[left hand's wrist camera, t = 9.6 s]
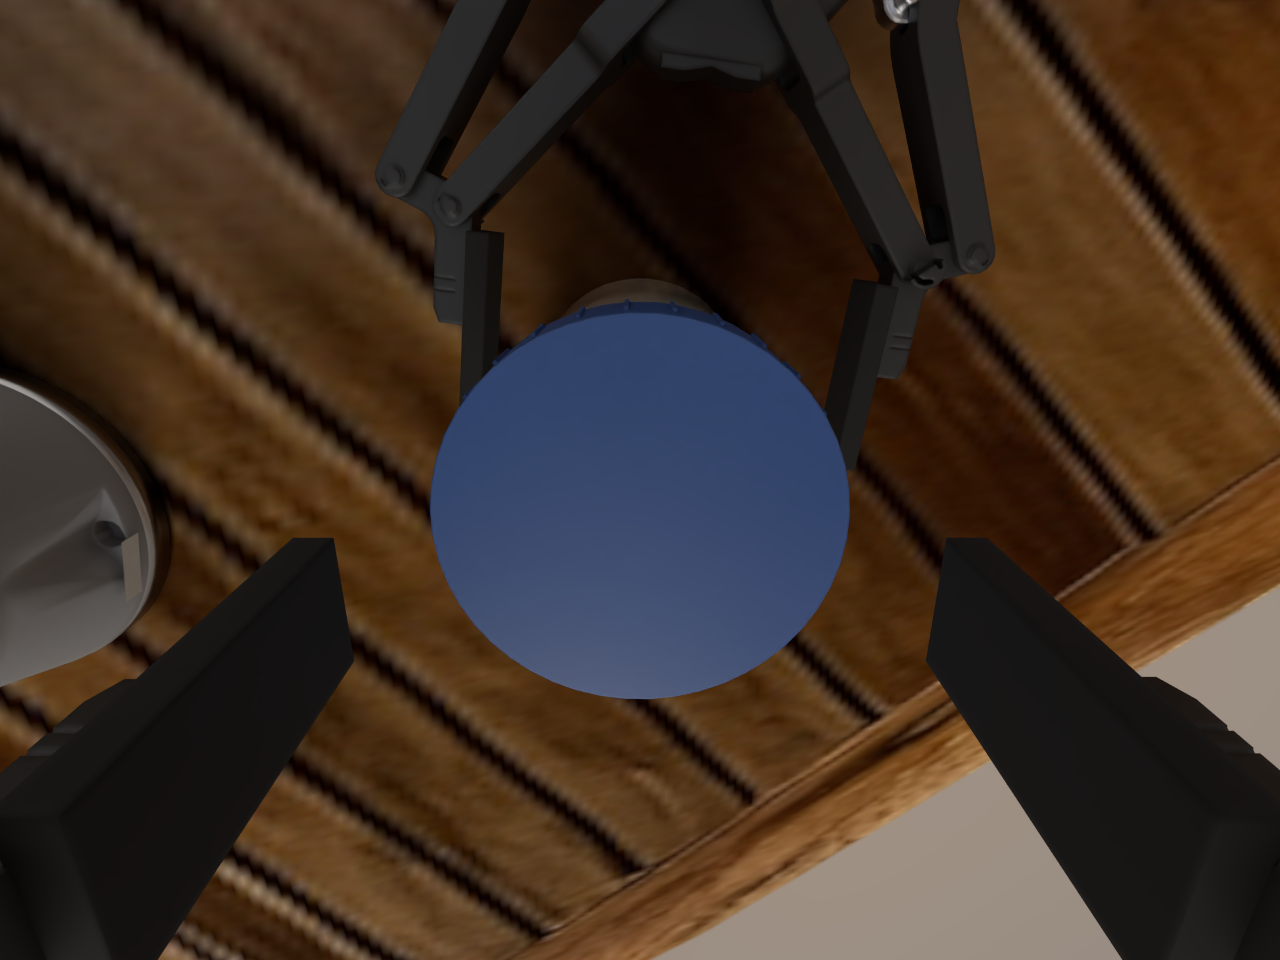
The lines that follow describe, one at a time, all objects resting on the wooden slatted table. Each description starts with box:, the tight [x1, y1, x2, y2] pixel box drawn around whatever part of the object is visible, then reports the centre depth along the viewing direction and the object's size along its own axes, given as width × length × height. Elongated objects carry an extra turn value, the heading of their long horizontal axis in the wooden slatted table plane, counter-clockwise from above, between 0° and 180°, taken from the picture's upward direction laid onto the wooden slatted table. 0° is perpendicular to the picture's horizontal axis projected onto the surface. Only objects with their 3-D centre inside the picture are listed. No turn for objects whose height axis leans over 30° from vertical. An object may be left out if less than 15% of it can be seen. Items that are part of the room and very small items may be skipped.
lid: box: [430, 299, 850, 699], centre depth 18 cm, size 10×10×2 cm
